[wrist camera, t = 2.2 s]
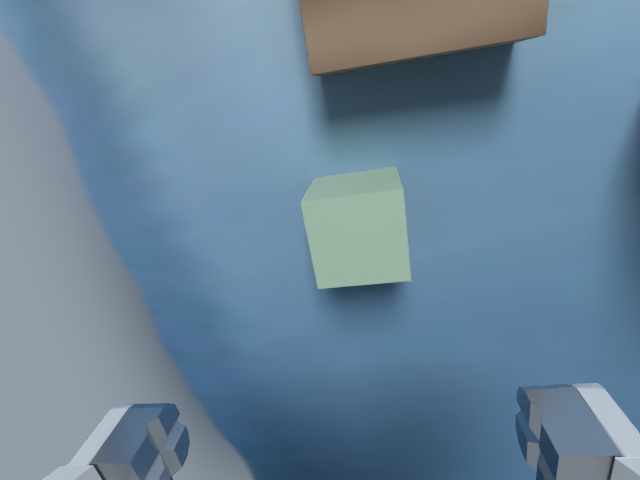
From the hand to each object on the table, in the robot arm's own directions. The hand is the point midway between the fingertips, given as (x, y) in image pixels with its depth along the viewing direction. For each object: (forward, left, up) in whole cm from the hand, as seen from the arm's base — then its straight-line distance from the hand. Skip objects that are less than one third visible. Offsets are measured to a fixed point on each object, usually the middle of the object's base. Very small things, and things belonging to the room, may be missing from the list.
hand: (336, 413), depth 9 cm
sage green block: (0, 0, -16) cm, 16 cm away
